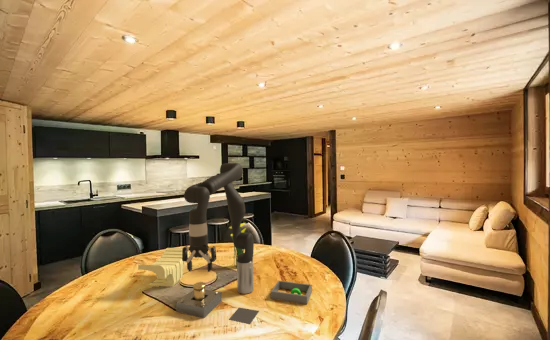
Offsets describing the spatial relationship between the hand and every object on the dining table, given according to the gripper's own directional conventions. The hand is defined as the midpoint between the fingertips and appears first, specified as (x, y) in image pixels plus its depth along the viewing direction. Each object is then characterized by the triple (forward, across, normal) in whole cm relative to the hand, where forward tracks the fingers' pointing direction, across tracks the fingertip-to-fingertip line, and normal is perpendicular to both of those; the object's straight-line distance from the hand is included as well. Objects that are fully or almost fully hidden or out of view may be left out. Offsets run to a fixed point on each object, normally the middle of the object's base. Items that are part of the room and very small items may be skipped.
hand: (199, 270), depth 111 cm
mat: (+28, -15, -15) cm, 35 cm away
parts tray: (+29, -37, -37) cm, 60 cm away
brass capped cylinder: (+27, +10, -20) cm, 35 cm away
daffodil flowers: (+30, +2, -74) cm, 80 cm away
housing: (+28, +10, -20) cm, 36 cm away
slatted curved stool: (+29, +41, -45) cm, 67 cm away
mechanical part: (+31, -42, -31) cm, 61 cm away
